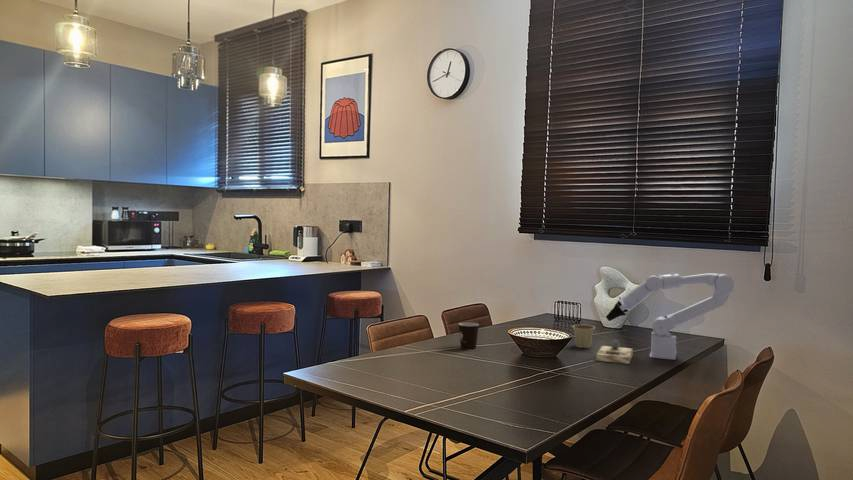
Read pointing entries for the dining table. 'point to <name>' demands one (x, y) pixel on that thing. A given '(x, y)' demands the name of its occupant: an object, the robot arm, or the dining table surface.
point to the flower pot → (583, 335)
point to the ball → (615, 344)
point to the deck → (614, 354)
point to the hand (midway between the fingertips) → (608, 317)
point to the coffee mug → (468, 335)
